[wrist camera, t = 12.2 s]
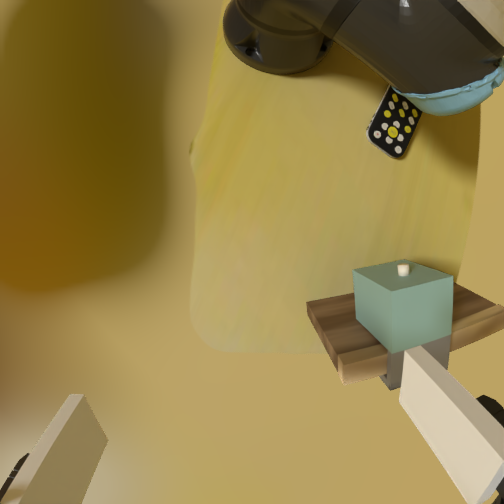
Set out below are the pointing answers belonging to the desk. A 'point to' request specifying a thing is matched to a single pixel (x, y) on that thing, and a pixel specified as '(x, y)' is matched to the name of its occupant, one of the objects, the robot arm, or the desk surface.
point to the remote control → (393, 123)
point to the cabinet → (405, 311)
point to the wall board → (372, 351)
